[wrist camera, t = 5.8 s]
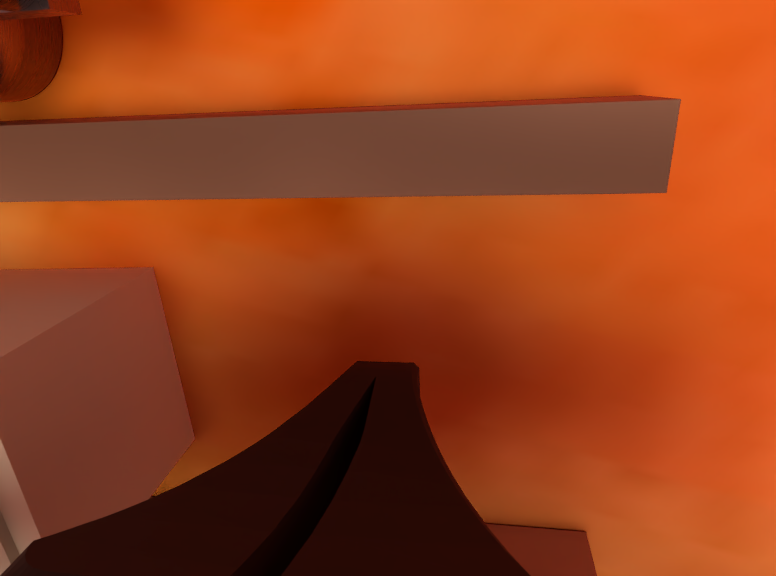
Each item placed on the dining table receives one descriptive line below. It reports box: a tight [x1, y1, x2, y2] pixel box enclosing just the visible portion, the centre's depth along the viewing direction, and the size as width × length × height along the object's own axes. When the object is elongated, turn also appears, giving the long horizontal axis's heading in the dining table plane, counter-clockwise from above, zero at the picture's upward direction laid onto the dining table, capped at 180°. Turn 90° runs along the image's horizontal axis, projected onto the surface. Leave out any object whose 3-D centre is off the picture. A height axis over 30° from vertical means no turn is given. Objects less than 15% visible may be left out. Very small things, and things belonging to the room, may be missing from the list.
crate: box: [0, 267, 195, 575], centre depth 12 cm, size 5×5×5 cm
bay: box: [0, 95, 681, 576], centre depth 11 cm, size 12×17×4 cm
